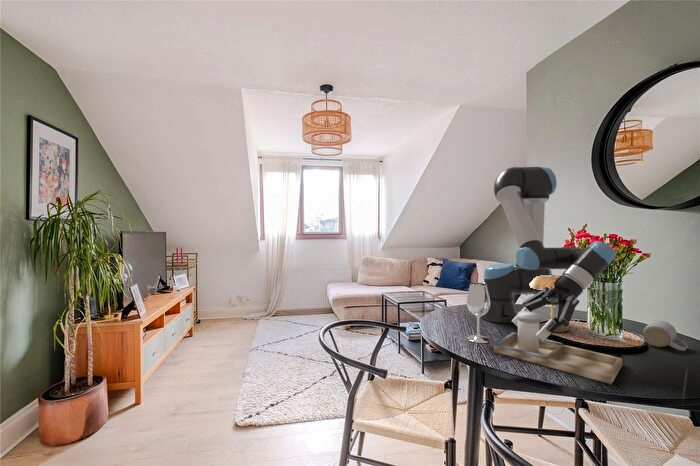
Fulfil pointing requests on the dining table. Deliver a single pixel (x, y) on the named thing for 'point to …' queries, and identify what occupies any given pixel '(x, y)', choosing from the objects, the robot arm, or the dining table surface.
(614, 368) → the bay tray
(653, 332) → the ceramic mug
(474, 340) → the wineglass
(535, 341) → the domed white canister
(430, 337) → the dining table surface
